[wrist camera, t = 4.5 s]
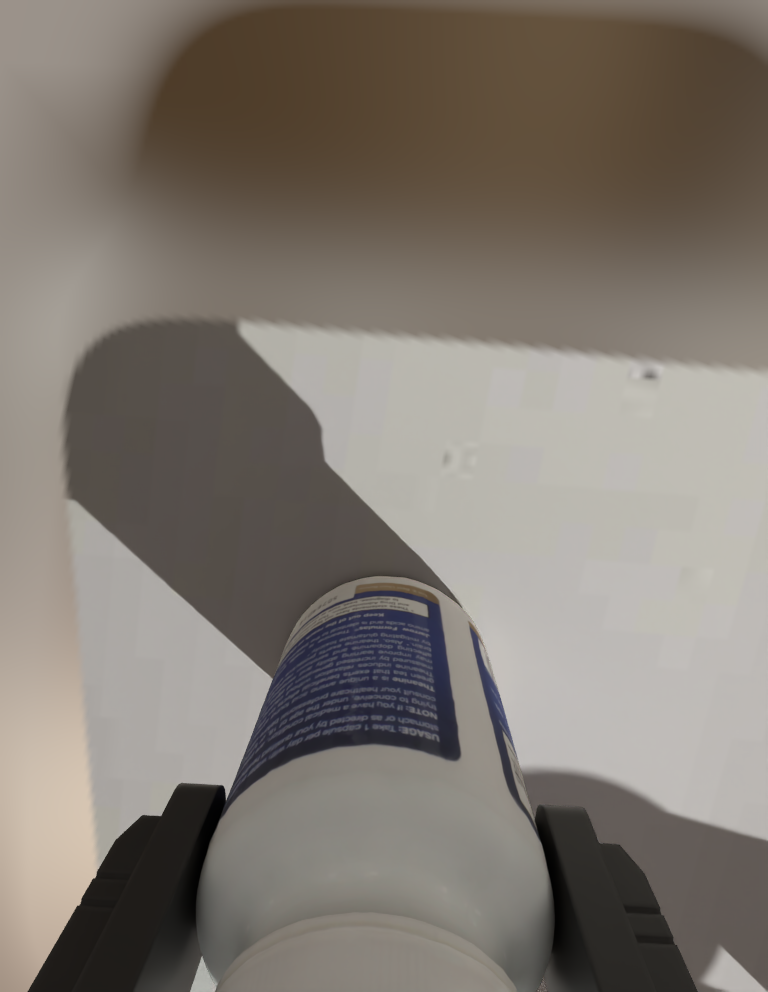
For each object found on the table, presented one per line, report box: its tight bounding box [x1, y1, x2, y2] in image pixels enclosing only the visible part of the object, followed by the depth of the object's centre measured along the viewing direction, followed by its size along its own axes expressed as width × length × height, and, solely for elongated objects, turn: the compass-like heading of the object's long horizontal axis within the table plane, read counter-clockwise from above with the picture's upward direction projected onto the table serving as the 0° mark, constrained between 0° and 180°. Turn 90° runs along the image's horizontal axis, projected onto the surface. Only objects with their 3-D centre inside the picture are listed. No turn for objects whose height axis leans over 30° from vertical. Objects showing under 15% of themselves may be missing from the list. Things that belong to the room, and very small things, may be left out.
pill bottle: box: [196, 576, 555, 992], centre depth 10 cm, size 5×5×10 cm
